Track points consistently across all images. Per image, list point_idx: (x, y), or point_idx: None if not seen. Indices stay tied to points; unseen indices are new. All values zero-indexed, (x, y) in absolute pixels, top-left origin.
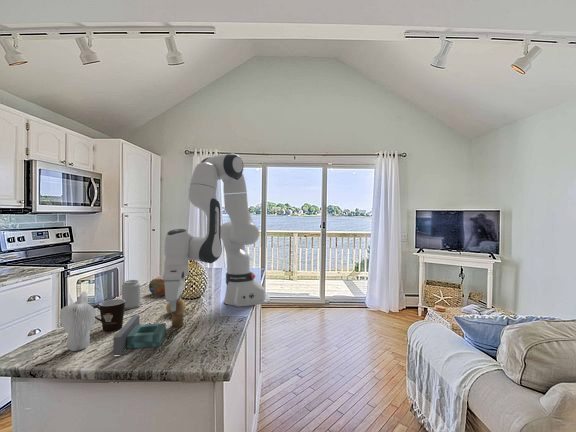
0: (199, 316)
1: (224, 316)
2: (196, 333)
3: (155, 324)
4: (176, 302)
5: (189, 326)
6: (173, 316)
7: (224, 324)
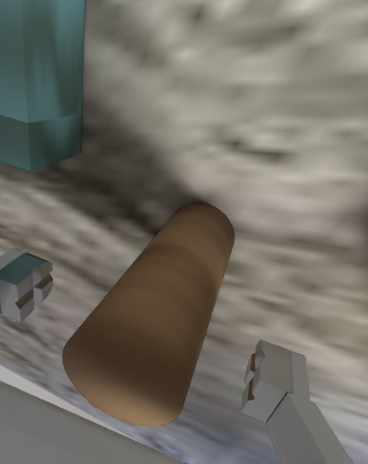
0: None
1: (233, 435)
2: (66, 285)
3: (12, 89)
4: (67, 350)
5: None
6: (151, 243)
7: None
